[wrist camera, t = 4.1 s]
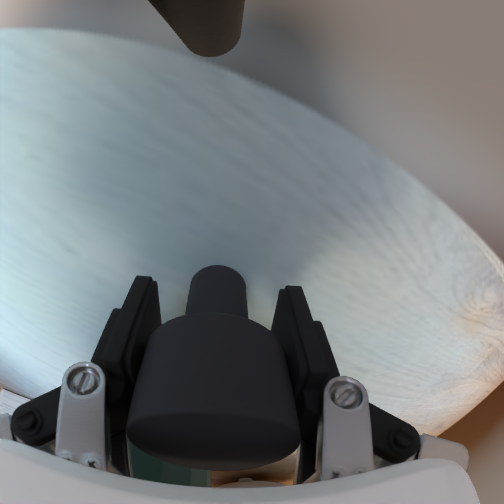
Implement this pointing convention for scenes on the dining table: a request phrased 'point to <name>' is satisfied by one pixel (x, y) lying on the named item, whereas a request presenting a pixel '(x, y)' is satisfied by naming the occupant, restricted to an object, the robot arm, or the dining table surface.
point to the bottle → (166, 471)
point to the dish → (250, 484)
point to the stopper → (214, 384)
